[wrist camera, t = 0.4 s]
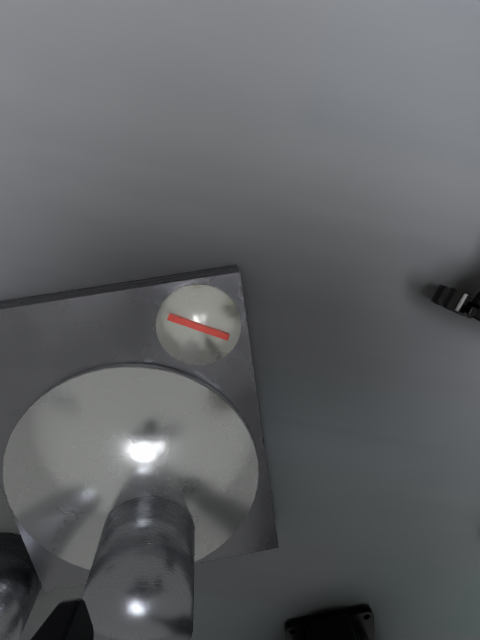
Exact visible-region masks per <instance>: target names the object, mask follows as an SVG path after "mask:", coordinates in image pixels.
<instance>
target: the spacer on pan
mask: <svg viewBox="0 0 480 640" xmlns="http://www.w3.org/2000/svg"><path fill="white" fill-rule="evenodd" d="M194 556H195V525H194V522H193V519H192V517H191V515H190V514H189V513H188V511H187V510H186V509H185V508H184V507H182V506H181V505H180V504H178V503H176V502H174V501H172V500H170V499H166V498H163V497H156V496H144V497H138V498H133V499H131V500H128V501H126V502H124V503H122V504H120V505H119V506H117V507H116V508H115V509H114V510H113V511H112V512H111V513H110V514H109V516H108V517H107V519H106V521H105V523H104V526H103V530H102V533H101V536H100V540H99V543H98V546H97V550H96V553H95V556H94V559H93V563H92V566H91V569H90V573H89V576H88V579H87V583H86V586H85V589H84V593H83V596H82V599H83V600H84V601H85V603H86V606H87V609H88V612H89V615H90V618H91V621H92V624H93V629H94V640H190V638H191V635H192V631H193V603H194Z"/></svg>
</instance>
